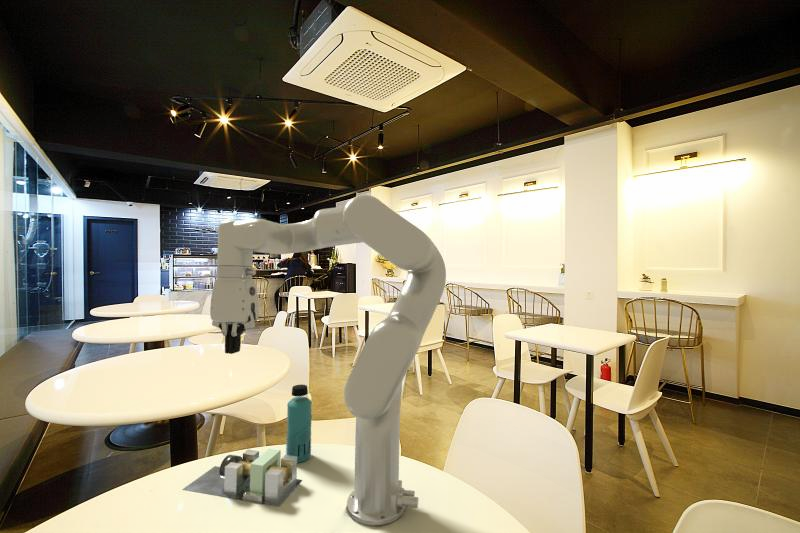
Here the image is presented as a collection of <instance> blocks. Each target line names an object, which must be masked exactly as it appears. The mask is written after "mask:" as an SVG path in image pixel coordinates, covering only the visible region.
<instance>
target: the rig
mask: <svg viewBox="0 0 800 533" xmlns="http://www.w3.org/2000/svg"><path fill="white" fill-rule="evenodd" d="M258 457H260V451H259V450H254V449H247V450H246V451H244V452H243V453H242V459H243V461H245V462H253V461H255V460H256V459H257V458H258ZM280 467H285V468H288V471H289V473H288V477H287V480H286V481H285V483H283V470H279V469H272V468H271V469H269V470H268V471H267V472H266V473H265V496H264V494H259V493H254V492H250V478H247V477H242V475H243V464H239V463H233V462H231V463H229V464H228V465H227V466H225V479H224V478H221V477H220V475H219V470H220V466H218V465H217V466H216V465H214V466H212V467H211V468H210V469H208V471H205V473H203V474H202V475H201V476H199V477H198V478H196V479H195V480H194V481H192V482H191V483H189V484H187V486H185V487H183V488H182V490H183V491H189V492H194V493H199V494H203V495H210V496H215V497H220V498H227V499H231V500H238V501H243V502H249V503H253V504H261V505H266V506H272V507H276V508H279V507H281V505H282V504H283V503H284V502H285V501H286V500H287V498H289V496H290V495H291V494H292V493H293V492H294V490H295V489H296V488H297V487H298V486H299V484H301V482H303V479H298V478H297V474H298V473H297V472H298V470H297V469H298V463H297V456H290V455H286V454H285V455H284V456H282V457H281V458H280Z"/></svg>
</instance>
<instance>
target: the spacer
mask: <svg viewBox="0 0 800 533" xmlns="http://www.w3.org/2000/svg"><path fill="white" fill-rule="evenodd" d="M281 453H282V452H281V449H275V448H268V449H266V451H265V452H263V453H262V454H261V455H259V457H258V458H257V459H256V460H255V461H253V462H252V463H251V465H250V492H254V493H259V494H264V496H265V473H266V468H267V467H269V466H270V465H272V466H278V467H281V455H282V454H281Z"/></svg>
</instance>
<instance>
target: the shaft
mask: <svg viewBox="0 0 800 533" xmlns="http://www.w3.org/2000/svg"><path fill="white" fill-rule="evenodd" d="M231 462H233V463H239V464H243V475H242V477H247V478H250V465H251V463H252V462H245V461H243V456H241V455H235V454H228V455H226V456H225V457H224V458H223V460H222V461H221V463H220V465H219V467H220V470H219V475H220V477H221V478H224V479H225V466H227V465H228V464H229V463H231ZM271 468H272V469H279V470H283V483H285V481H286V480H287V477H288V473H289V471H288V468H285V467H281V466H280V467H278V466H272V465H270V466H269V467H267V468H266V472H267V471H268V470H269V469H271Z"/></svg>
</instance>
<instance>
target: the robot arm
mask: <svg viewBox="0 0 800 533" xmlns="http://www.w3.org/2000/svg"><path fill="white" fill-rule="evenodd" d="M217 230H218V231H217V259H216V279H214V282H213V287H212V292H211V297H210V308H209V310H210V319H211V325H212V326H213V327H215V328H218V329H219V330H220V331H221V333H222V336H224V353H225V354H230V355H232V354H237V353H239V352H240V351H241V346H242V345H241V342H242V340H241V337H242V335H244V334H245V332H246V330H247V329H251V328H255V326H256V324H255V321H257V320H258V319H259V295H258V289H257V288H258V287H257V282H256V280H255V279H253V276H255V275H256V274H257V270H256V269H253V256H254V254H253V252H255V253H263V254H272V255H287V254H289V255H290V254H295V253H296V254H297V253H303V252H305V253H306V252H309V251H315V250H321V249H324V248H330V247H337V246H344V245H345V246H346V245H351V244H360V243H364V244H365V245H367V246H368V247H370V248H371V249H372V250H373V251H375V252H377V254H379V255H380V256H381V257H382V258H384V259H386V260H387V261H388V262H390V263H392V265H393V266H395V267H397V268H398V269H400V270H403V271H406V272H407V277H406V280H405V282H404V284H403V285H402V288H401V290H400V291H399V293H398V296H397V298H396V300H395V302H394V305H393V306H392V308H391V310H390V312H389V313H388V315H387V317H386V318H384V319H383V320H382V321H380V322H378V324H376V326H375V327H374V328H373V329H372V330H371V332H370V333H369V336H368V337H367V339H366V341H365V343H364V345H363V346H362V348H361V351H360V353H359V355H358V357H357V359H356V361H355V364H354V365H353V367H352V369H351V371H350V374H349V375H348V378H347V380H346V383H345V385H344V388H343V389H344V390H343V396H344V397H343V398H344V403H345V405H346V407H347V409H348V411H349V412H350V413H351V414H352V415H353V416H354V417H355V437H354V438H355V439H354V440H355V444H354V445H355V446H354V447H355V448H354V450H355V451H354V490H353V491H352V492H351V493H350V494H349V495H348V497H347V501H346V511H347V513H348V515H349V516H350V517H351V519H352V520H354V521H355V522H357V523H359V524H363V525H367V526H383V525H388V524H391V523H393V522H395V521H396V520H398V519H399V518H400V517H401V516H402V515H403V514H404V512H405V510H406V507H408V508H412V509H413V508H414V509H418V508H419V497H417V496H415V495H416V492H415V490H410V489H409V490H408V489H405V488H404V487H403V480H400V476H399V475H400V474H399V473H400V433H401V432H400V431H401V427H400V426H401V423H400V422H401V403H402V393H403V392H402V391H403V381H404V378H405V376H406V374H407V372H408V370H409V368H410V367H411V364H413V363H412V362H413V360H414V359H415V356H416V355H417V354H418V351H419V349H420V347H421V344H422V341H423V337H424V336H425V333H426V330H427V328H428V326H429V325H430V323H431V320H432V318H433V316H434V314H435V312H436V309H437V307H438V305H439V303H440V301H441V298H442V296H443V293H444V291H445V287H446V281H447V274H446V273H447V270H446V265H445V264H446V263H445V261H444V259H443V258H444V257H443V256H442V254H441V252H440V251H439V249H438V248H437V246H436V244H435V242H433V241H432V239H431V238H430V237H429V236H428V235H427V234H426V233H425V231H423V230H421V229H420V228H419V227H418V226H416V225H415V224H413V223H411V222H410V221H408V220H407V219H406V218H405V217H403V216H402V215H400V214H399V213H397V212H396V211H395V210H393V209H392V208H390V207H389V206H388V205H386V204H385V203H384V202H382V201H381V200H380V199H379V198H377V197H375V196H372V195H368V194H360V195H356V196H355V197H353V198H351V199H350V200H349V201H348V202H347V203H346V205H343V206H337V207H330V208H329V207H328V208H322V209H319V210H317V211H316V212H315V214H314V215H313V217H312V218H311V219H309V220H305V221H300V222H295V223H286V224H281V223H278V222H276V221H275V222H274V221H271V220H267V219H264V218H251V219H248V220H241V221H240V220H224V221H221V222H220V223H219V224H218V229H217Z"/></svg>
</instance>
